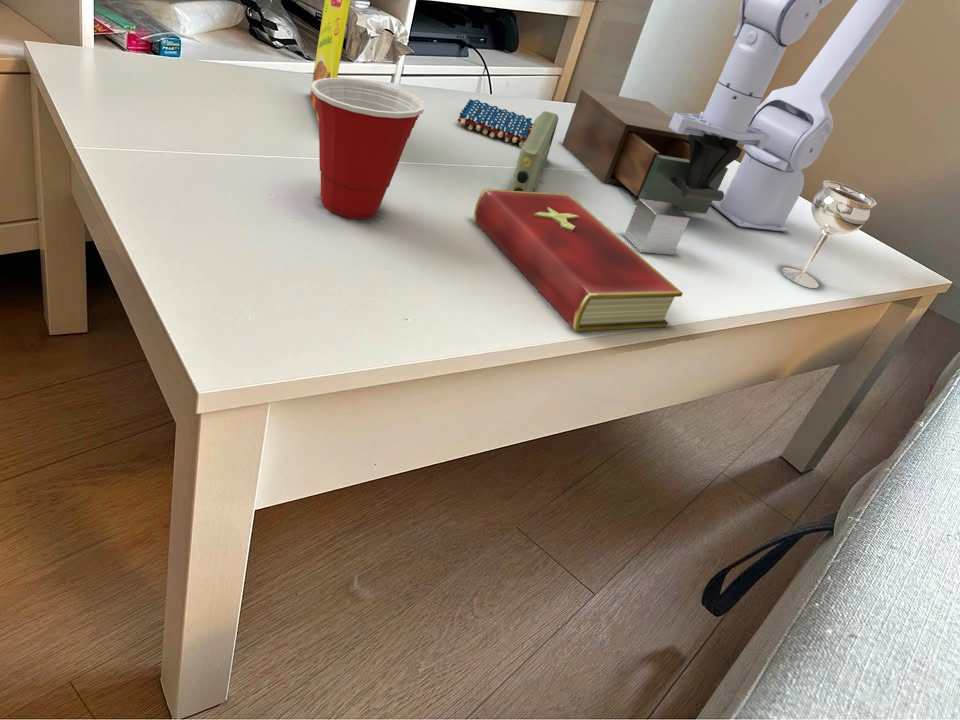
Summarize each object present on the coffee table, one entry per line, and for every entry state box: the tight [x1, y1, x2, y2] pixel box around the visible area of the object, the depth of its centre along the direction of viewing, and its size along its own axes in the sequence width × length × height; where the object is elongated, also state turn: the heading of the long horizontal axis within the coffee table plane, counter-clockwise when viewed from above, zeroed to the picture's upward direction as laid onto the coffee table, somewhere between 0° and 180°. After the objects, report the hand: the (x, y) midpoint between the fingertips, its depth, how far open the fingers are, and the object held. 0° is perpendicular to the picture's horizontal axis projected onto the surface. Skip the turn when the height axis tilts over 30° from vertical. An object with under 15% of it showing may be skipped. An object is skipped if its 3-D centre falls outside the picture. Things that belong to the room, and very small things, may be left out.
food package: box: [309, 0, 352, 123], centre depth 92 cm, size 15×1×20 cm, turn 17°
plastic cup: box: [310, 77, 426, 220], centre depth 75 cm, size 11×11×12 cm
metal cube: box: [623, 199, 691, 256], centre depth 92 cm, size 5×4×5 cm
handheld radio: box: [509, 110, 559, 192], centre depth 96 cm, size 7×3×25 cm
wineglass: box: [781, 180, 878, 289], centre depth 95 cm, size 7×7×12 cm
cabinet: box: [561, 88, 689, 187], centre depth 113 cm, size 14×13×9 cm
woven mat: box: [457, 98, 533, 148], centre depth 114 cm, size 10×11×2 cm
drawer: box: [612, 130, 729, 215], centre depth 105 cm, size 17×11×7 cm
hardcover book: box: [473, 188, 684, 332], centre depth 79 cm, size 12×21×4 cm, turn 28°
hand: (692, 191), depth 100 cm, fingers closed, pressing on drawer
